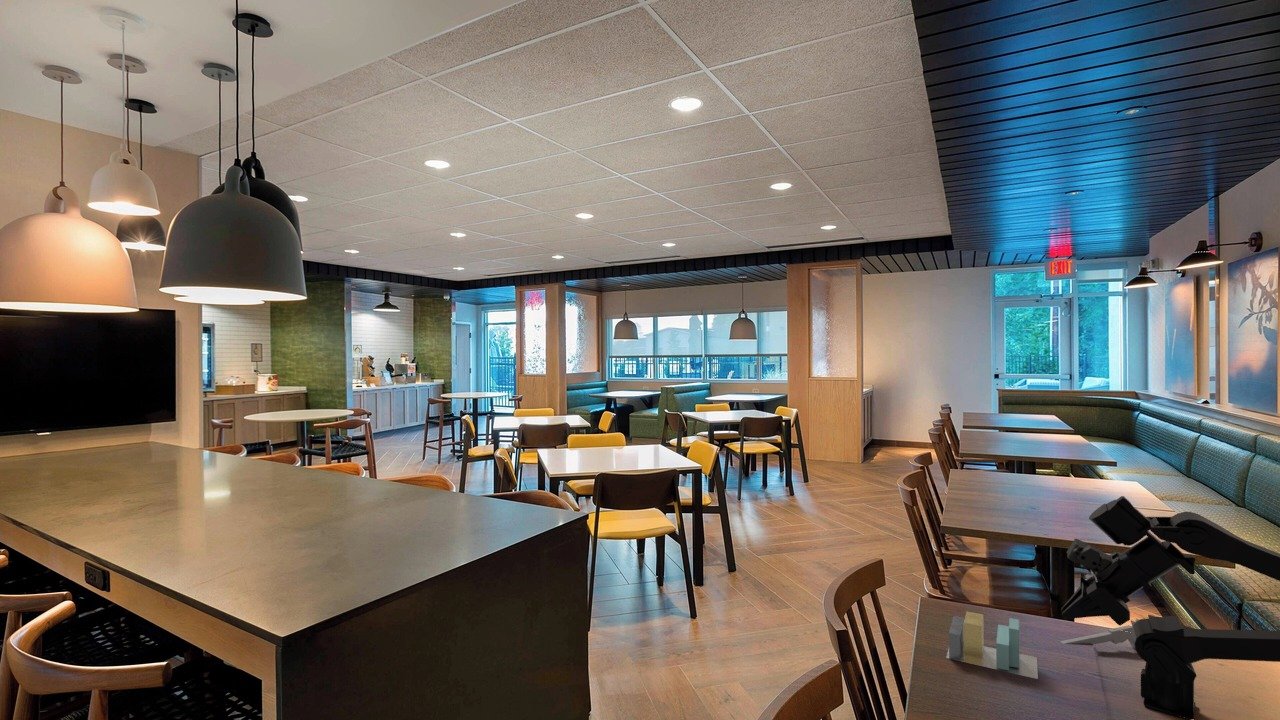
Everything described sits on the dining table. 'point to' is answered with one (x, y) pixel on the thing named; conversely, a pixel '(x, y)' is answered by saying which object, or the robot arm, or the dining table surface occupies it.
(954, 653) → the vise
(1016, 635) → the block
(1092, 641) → the grey long thin bar
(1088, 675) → the dining table surface
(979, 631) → the brass block
